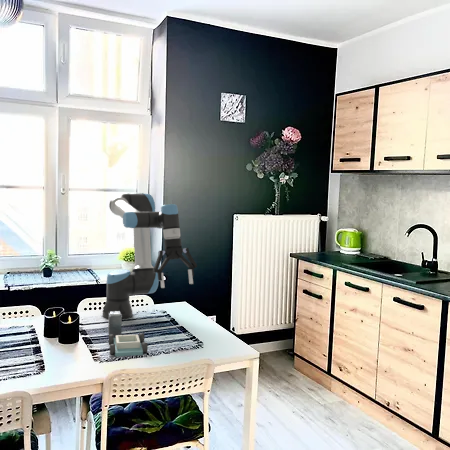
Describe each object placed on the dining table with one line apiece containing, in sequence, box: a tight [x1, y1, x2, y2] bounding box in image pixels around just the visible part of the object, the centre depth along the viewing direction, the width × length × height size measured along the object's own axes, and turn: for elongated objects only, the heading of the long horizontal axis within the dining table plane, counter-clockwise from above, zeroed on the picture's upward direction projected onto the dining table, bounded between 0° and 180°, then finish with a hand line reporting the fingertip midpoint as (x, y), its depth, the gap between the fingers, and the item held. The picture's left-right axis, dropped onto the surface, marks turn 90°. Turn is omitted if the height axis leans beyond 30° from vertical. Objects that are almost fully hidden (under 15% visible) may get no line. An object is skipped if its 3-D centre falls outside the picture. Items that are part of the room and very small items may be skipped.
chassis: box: [108, 332, 149, 357], centre depth 201 cm, size 18×15×4 cm
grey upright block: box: [107, 311, 123, 337], centre depth 217 cm, size 6×6×10 cm
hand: (177, 285), depth 212 cm, fingers open, 13 cm apart
